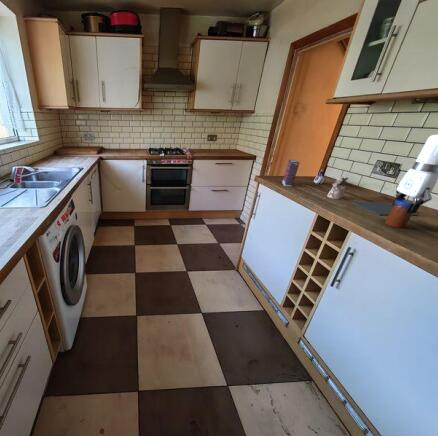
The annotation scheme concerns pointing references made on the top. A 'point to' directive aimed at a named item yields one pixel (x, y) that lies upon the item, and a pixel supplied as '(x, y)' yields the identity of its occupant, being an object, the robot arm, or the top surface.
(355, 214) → the top surface
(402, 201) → the lid
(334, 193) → the figurine
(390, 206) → the mat
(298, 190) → the top surface
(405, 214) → the jar
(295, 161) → the supplement box
